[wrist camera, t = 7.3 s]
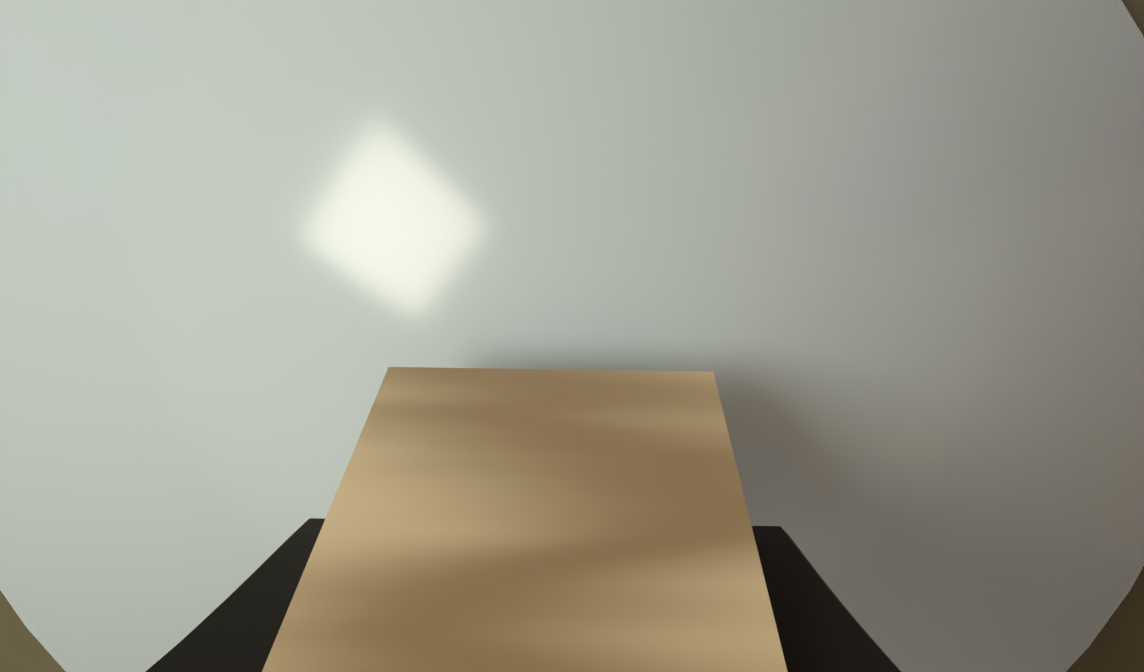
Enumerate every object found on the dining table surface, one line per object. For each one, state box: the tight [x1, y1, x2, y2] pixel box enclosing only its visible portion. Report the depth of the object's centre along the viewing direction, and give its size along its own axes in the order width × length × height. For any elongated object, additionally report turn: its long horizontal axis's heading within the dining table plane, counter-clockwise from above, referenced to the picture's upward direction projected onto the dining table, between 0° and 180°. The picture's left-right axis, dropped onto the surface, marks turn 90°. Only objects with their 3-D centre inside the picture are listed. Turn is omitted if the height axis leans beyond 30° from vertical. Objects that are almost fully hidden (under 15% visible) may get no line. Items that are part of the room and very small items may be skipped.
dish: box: [0, 0, 1144, 672], centre depth 15 cm, size 18×18×1 cm
